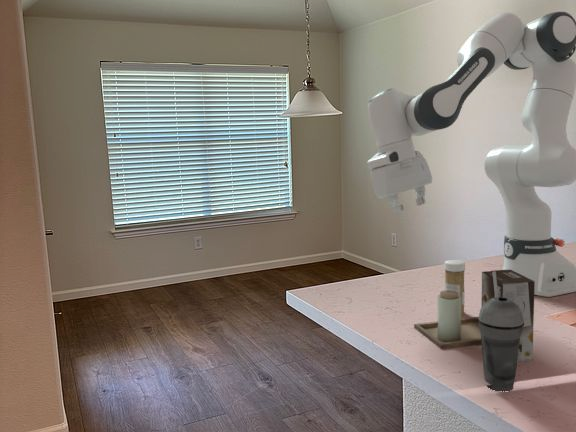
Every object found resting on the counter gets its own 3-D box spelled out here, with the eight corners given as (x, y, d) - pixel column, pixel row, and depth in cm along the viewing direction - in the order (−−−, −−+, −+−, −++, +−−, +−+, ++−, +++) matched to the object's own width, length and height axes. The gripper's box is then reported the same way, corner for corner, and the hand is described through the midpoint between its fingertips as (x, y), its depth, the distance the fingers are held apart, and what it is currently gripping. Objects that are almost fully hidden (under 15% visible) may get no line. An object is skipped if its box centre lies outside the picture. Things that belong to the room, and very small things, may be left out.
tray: (480, 324, 118) (480, 316, 118) (512, 343, 106) (513, 335, 106) (414, 331, 115) (414, 324, 115) (440, 353, 103) (440, 344, 103)
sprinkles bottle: (468, 317, 123) (469, 261, 121) (455, 321, 120) (456, 264, 118) (452, 312, 126) (453, 258, 124) (440, 316, 124) (440, 261, 122)
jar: (453, 333, 111) (454, 288, 109) (465, 341, 106) (465, 295, 105) (433, 336, 110) (433, 291, 108) (444, 344, 105) (444, 297, 104)
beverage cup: (518, 400, 84) (522, 280, 81) (472, 390, 88) (473, 275, 85) (525, 381, 91) (528, 269, 88) (481, 372, 94) (483, 265, 91)
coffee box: (534, 365, 97) (537, 281, 94) (501, 367, 96) (503, 283, 94) (509, 345, 106) (511, 268, 103) (478, 348, 105) (480, 270, 103)
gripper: (410, 152, 139) (423, 202, 140) (362, 164, 126) (376, 219, 127) (430, 146, 135) (443, 198, 135) (382, 158, 121) (397, 215, 122)
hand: (411, 208), depth 131 cm, fingers open, 8 cm apart
